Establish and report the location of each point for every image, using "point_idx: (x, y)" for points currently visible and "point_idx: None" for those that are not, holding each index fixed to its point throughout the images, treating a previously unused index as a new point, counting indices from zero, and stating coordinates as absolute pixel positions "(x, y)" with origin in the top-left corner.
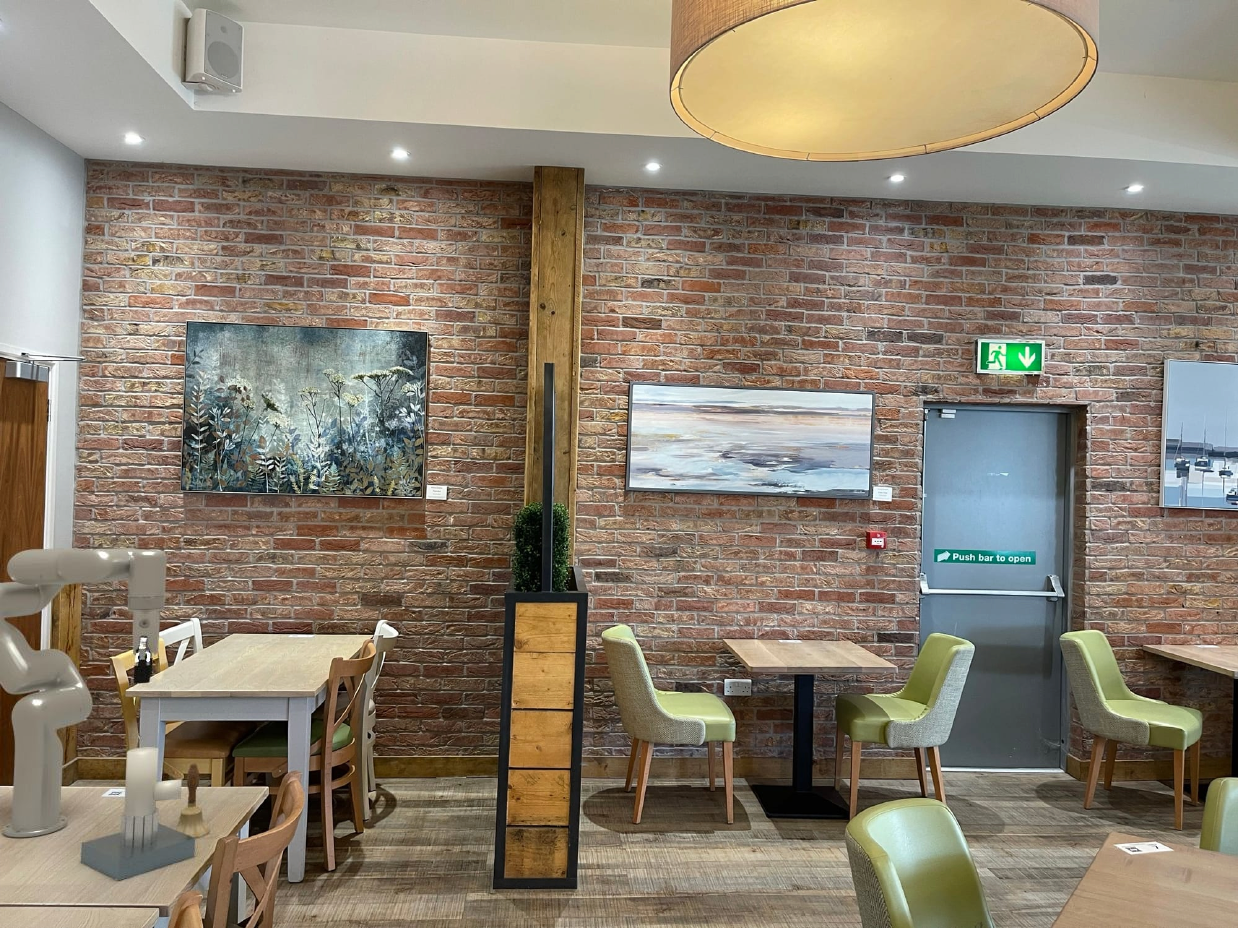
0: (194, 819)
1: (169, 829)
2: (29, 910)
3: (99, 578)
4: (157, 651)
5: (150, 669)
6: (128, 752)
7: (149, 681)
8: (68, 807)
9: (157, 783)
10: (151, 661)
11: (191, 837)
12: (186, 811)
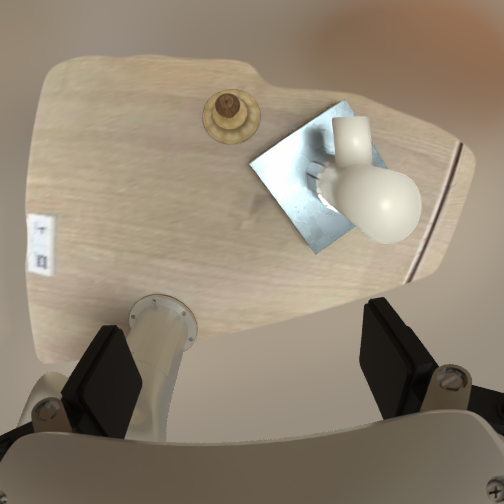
0: (246, 106)
1: (293, 138)
2: (427, 262)
3: None
4: (381, 436)
5: (111, 349)
6: (394, 239)
7: (383, 298)
8: (89, 305)
9: (366, 162)
10: (89, 382)
11: (340, 104)
12: (241, 118)
